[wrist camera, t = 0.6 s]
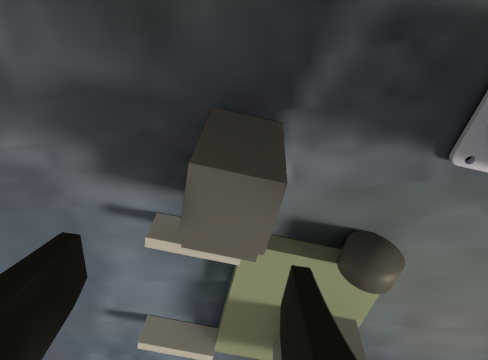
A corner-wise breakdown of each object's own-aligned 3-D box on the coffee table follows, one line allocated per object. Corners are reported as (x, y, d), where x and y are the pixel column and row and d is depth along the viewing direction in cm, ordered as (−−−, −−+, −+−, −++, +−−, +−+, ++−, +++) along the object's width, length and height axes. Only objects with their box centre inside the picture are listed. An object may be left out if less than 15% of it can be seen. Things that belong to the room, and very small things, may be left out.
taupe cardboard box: (282, 122, 19) (287, 184, 14) (258, 206, 22) (254, 284, 17) (212, 106, 19) (188, 162, 14) (198, 194, 22) (173, 268, 17)
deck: (397, 238, 23) (436, 320, 17) (321, 367, 31) (331, 450, 26) (159, 188, 22) (123, 258, 17) (145, 334, 30) (119, 413, 25)
